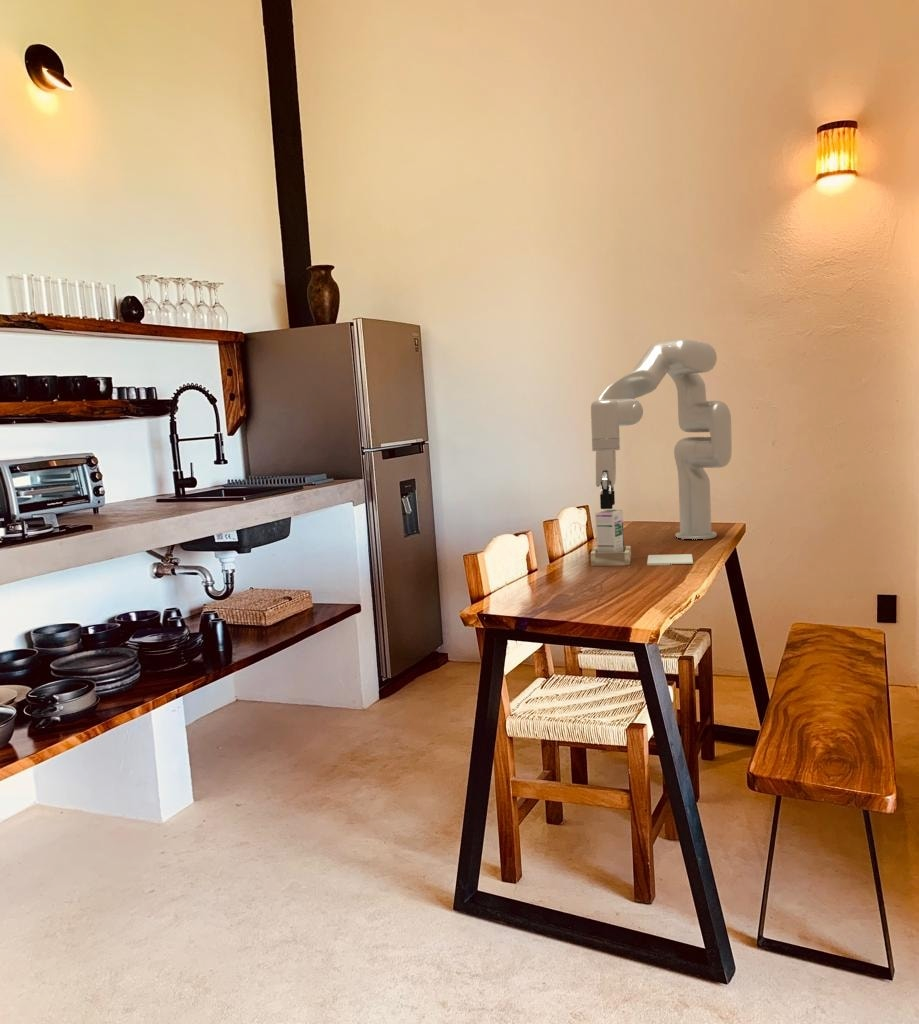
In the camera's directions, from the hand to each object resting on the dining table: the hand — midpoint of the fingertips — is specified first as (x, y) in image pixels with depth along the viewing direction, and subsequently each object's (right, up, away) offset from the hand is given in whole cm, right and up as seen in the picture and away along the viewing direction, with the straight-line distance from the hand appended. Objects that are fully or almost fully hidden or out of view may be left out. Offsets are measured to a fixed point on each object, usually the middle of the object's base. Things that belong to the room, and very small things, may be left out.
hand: (607, 506), depth 237 cm
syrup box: (+1, -16, +2) cm, 16 cm away
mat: (+17, -15, -2) cm, 23 cm away
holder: (+1, -15, +2) cm, 16 cm away
